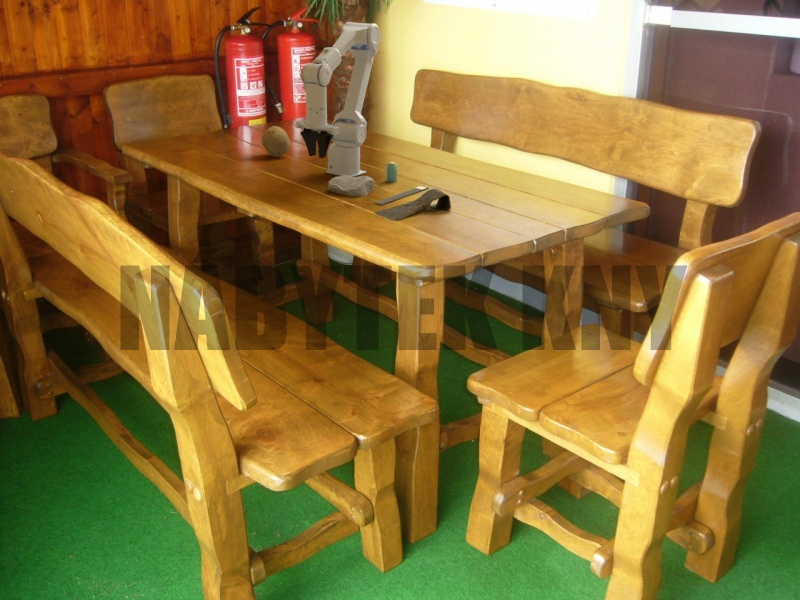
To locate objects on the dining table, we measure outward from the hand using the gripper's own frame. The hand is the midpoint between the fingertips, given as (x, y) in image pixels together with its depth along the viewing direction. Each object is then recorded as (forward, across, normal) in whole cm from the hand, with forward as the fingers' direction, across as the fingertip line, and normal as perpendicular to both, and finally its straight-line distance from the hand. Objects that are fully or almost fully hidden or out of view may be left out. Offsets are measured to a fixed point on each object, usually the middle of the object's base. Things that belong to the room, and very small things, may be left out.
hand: (317, 156), depth 233 cm
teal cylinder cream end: (+8, +13, +18) cm, 24 cm away
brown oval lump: (+9, -34, +18) cm, 39 cm away
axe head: (+9, +36, -4) cm, 38 cm away
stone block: (+9, +11, +1) cm, 14 cm away
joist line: (+8, +25, +7) cm, 27 cm away
